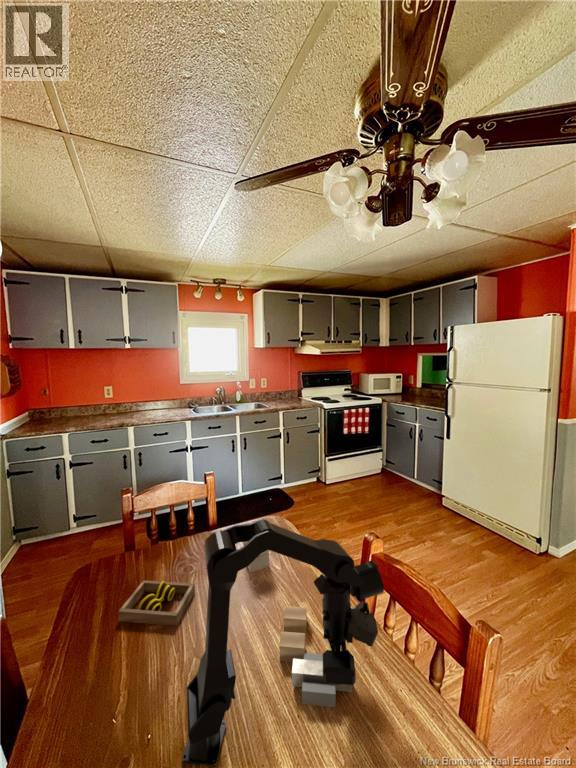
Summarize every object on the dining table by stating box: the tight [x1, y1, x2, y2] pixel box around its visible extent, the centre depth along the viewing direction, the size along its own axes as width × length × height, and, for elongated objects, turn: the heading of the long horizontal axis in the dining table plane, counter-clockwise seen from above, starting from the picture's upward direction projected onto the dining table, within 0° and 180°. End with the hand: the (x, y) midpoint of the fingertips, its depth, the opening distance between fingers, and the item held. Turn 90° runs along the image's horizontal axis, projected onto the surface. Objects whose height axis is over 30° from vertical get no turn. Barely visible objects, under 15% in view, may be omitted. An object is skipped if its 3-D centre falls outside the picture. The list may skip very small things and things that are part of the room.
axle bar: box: [291, 659, 353, 693], centre depth 68 cm, size 13×3×3 cm, turn 84°
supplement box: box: [242, 541, 270, 573], centre depth 108 cm, size 7×7×13 cm
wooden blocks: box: [278, 605, 308, 663], centre depth 79 cm, size 12×6×4 cm, turn 174°
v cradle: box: [301, 652, 337, 708], centre depth 68 cm, size 8×7×3 cm
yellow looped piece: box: [138, 580, 175, 611], centre depth 90 cm, size 10×5×5 cm, turn 159°
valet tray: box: [118, 579, 196, 627], centre depth 91 cm, size 12×17×3 cm
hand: (337, 669), depth 67 cm, fingers open, 6 cm apart
